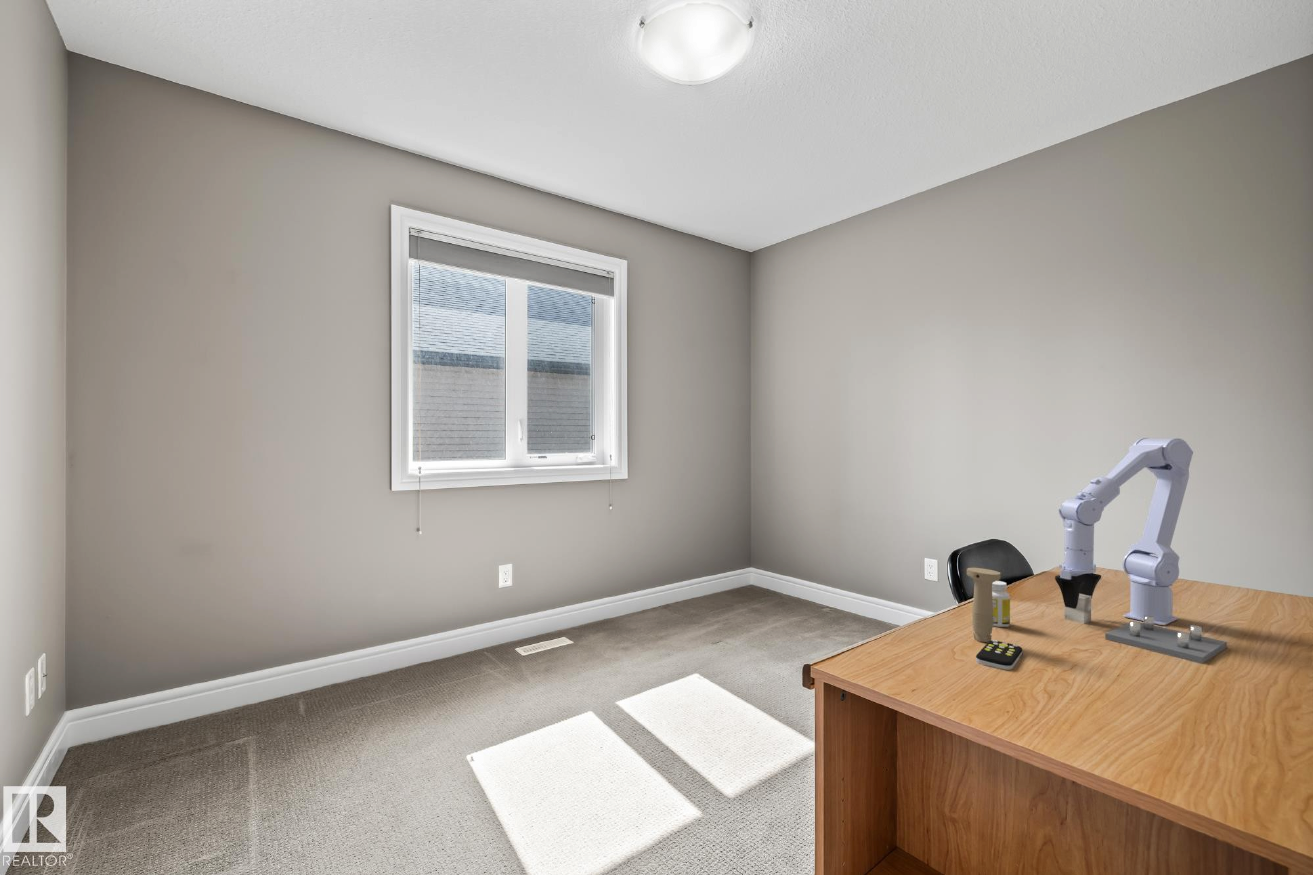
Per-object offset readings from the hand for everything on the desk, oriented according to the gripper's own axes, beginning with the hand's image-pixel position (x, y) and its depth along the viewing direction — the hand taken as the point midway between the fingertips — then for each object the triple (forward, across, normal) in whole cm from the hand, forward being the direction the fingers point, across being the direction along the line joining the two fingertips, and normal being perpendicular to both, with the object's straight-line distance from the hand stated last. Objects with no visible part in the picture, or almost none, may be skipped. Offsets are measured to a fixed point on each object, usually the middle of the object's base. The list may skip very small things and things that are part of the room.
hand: (1077, 605), depth 141 cm
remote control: (+4, +41, +2) cm, 41 cm away
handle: (+4, +34, -5) cm, 34 cm away
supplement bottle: (+4, +20, -9) cm, 22 cm away
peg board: (+3, +2, +17) cm, 18 cm away
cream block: (+4, 0, 0) cm, 4 cm away
